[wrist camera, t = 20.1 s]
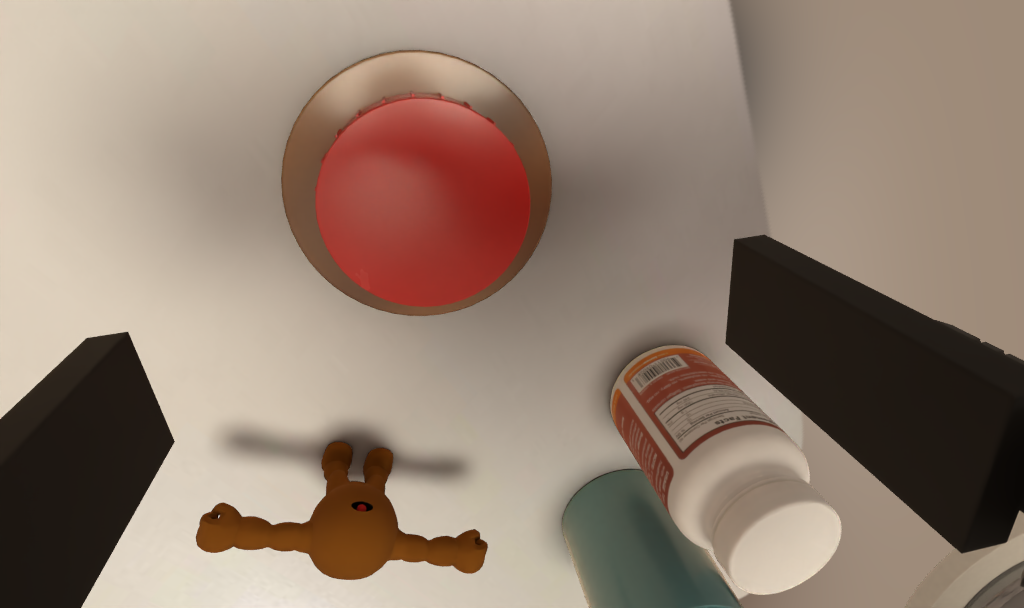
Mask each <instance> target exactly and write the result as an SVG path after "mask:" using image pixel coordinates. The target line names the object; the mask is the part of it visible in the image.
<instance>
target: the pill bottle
mask: <svg viewBox="0 0 1024 608" xmlns="http://www.w3.org/2000/svg"><path fill="white" fill-rule="evenodd" d="M610 409H611V415H612V418H613V421H614V423H615V425H616V427H617V429H618V431H619V433H620V434H621V436H622V438H623V439H624V441H625V442H626V444H627V446H628V447H629V449H630V451H631V452H632V454H633V455H634V457H635V459H636V460H637V462H638V464H639V465H640V467H641V469H642V470H643V472H644V473H645V475H646V477H647V478H648V480H649V482H650V483H651V485H652V487H653V488H654V490H655V492H656V493H657V495H658V497H659V498H660V500H661V501H662V503H663V505H664V507H665V508H666V510H667V511H668V513H669V515H670V516H671V518H672V519H673V521H674V522H675V524H676V525H677V527H678V528H679V530H680V531H681V532H682V534H683V535H684V536H685V537H686V538H688V539H689V540H690V541H691V542H693V543H694V544H696V545H698V546H700V547H702V548H704V549H707V550H710V551H714V554H715V557H716V559H717V561H718V562H719V563H720V565H721V566H722V567H723V569H724V570H725V571H726V573H727V574H728V576H729V577H730V579H731V580H732V582H733V583H734V584H735V585H736V586H737V587H738V588H740V589H742V590H743V591H746V592H748V593H751V594H759V595H767V594H774V593H779V592H782V591H785V590H788V589H791V588H793V587H795V586H797V585H799V584H801V583H803V582H804V581H806V580H807V579H809V578H810V577H812V576H813V575H814V574H816V573H817V572H818V571H819V570H820V569H821V568H822V567H823V566H824V565H825V564H826V563H827V562H828V561H829V559H830V558H831V557H832V556H833V554H834V552H835V550H836V549H837V547H838V544H839V542H840V537H841V529H842V527H841V521H840V518H839V516H838V514H837V513H836V511H835V510H834V509H833V508H832V507H831V506H830V505H829V503H828V502H827V501H826V500H825V499H824V498H823V497H822V496H821V495H820V494H819V493H818V492H817V491H816V490H815V489H814V488H813V487H812V486H811V485H810V473H809V467H808V463H807V460H806V458H805V456H804V454H803V452H802V451H801V449H800V448H799V447H798V445H797V444H796V443H795V442H794V441H793V440H792V439H791V438H790V437H789V436H788V435H787V434H786V433H785V432H784V431H783V430H782V429H781V428H780V427H779V426H778V425H777V424H776V423H775V422H773V421H772V420H771V419H770V418H769V417H768V416H767V415H766V414H765V413H764V412H763V411H762V410H761V409H760V408H759V407H758V406H757V405H756V404H755V403H754V402H753V401H752V400H751V399H750V398H749V397H748V396H747V395H746V394H745V393H744V392H743V391H742V390H740V389H739V388H738V387H737V386H736V385H735V384H734V383H733V382H732V381H731V380H730V379H729V378H728V377H727V376H726V375H725V374H724V373H723V372H722V371H721V370H720V369H719V368H718V367H717V366H716V365H715V364H714V363H713V362H712V361H711V360H709V359H708V358H707V357H706V356H705V355H703V354H702V353H701V352H699V351H697V350H695V349H693V348H690V347H686V346H680V345H668V346H662V347H658V348H655V349H652V350H649V351H647V352H645V353H643V354H641V355H640V356H638V357H637V358H635V359H634V360H633V361H631V362H630V363H629V364H628V365H627V366H626V367H625V368H624V370H623V371H622V372H621V374H620V375H619V377H618V378H617V380H616V382H615V384H614V387H613V390H612V393H611V400H610Z"/></svg>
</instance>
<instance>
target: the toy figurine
mask: <svg viewBox="0 0 1024 608" xmlns="http://www.w3.org/2000/svg"><path fill="white" fill-rule="evenodd" d="M352 454H353V452H352V447H350V446H349V445H348V444H346V443H343V442H334V443H331V444H329V445H328V447H327V448H326V450H325V453H324V455H323V458H322V461H321V464H322V469H323V471H324V477H325V479H326V480H327V486H326V496H325V497H324V498H323V499H322V500H321V501H320V502H319V504H318V505H317V506H316V508H315V510H314V512H313V514H312V516H311V519H310V521H308V522H305V523H302V524H300V523H293V522H284V523H279V524H276V525H271V524H270V523H269V522H268V521H266V520H264V519H261V518H258V517H251V516H248V517H242V516H241V515H240V513H239V512H238V511H237V510H236V509H235V508H234V507H232V506H230V505H228V504H226V503H219V504H218V505H216V506H215V507H214V508H213V510H212V511H211V512H209V513H206V514H204V515H203V516H202V518H201V519H200V524H199V525H200V526H199V528H198V531H197V535H196V542H197V545H198V547H200V548H201V549H202V550H204V551H206V552H211V553H218V552H222V551H225V550H228V549H230V548H232V547H233V546H234V547H236V548H238V549H244V550H257V549H263V548H266V547H269V548H272V549H274V550H278V551H293V550H296V551H298V552H303V553H307V554H309V556H310V557H311V559H312V561H313V563H314V565H315V566H316V567H317V568H318V569H319V570H320V571H321V572H322V573H323V574H325V575H327V576H329V577H332V578H337V579H344V580H356V579H362V578H366V577H368V576H370V575H372V574H373V573H375V572H376V571H378V570H379V569H380V568H381V567H382V566H383V565H384V564H385V563H386V562H387V561H389V560H401V559H402V560H403V561H407V562H421V561H426V562H428V563H430V564H433V565H437V566H452V565H453V566H454V567H455V568H456V569H458V570H459V571H461V572H463V573H475V572H477V571H478V570H480V568H481V567H482V566H483V563H484V560H485V554H486V551H487V548H488V545H487V543H486V542H485V541H483V540H481V539H480V533H479V532H478V531H477V530H475V529H473V530H469V531H466V532H464V533H462V534H461V535H459V536H458V537H456V538H453V537H449V536H441V537H436V538H433V539H432V540H427V539H426V538H424V537H422V536H419V535H413V534H405V533H403V532H402V531H400V530H399V528H398V522H397V517H396V514H395V511H394V508H393V506H392V504H391V502H390V500H389V499H388V498H387V496H386V495H385V483H386V481H387V479H388V476H389V474H390V473H391V469H392V463H393V453H392V452H391V451H390V450H388V449H385V448H376V449H373V450H371V451H370V452H369V453H368V456H367V458H366V460H365V463H364V466H363V474H364V479H365V483H364V482H358V481H351V482H350V481H349V480H348V477H347V476H348V470H349V468H350V465H351V461H352ZM218 515H220V517H219V518H218Z"/></svg>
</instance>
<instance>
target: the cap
mask: <svg viewBox="0 0 1024 608" xmlns="http://www.w3.org/2000/svg"><path fill="white" fill-rule="evenodd" d="M495 125H496V123H495V122H494V121H492V120H491V119H490V118H488V117H487V118H485V117H484V116H483V115H481V114H480V113H479V112H478V111H476V110H474V109H473V108H472V106H471V105H470V104H468V103H467V102H464V103H462V102H460V101H457V100H455V99H453V98H449V97H446V96H443V95H442V94H441V93H439V92H438V94H430V93H414V92H413V91H410V93H407V94H400V95H395V96H392V97H388V98H385V96H384V97H382V100H380V101H378V102H376V103H373V104H371V105H370V106H368V107H367V108H365V109H363V110H362V111H361V110H360V109H359V110H358V111H357V113H356V115H355V116H354V117H353V118H352V119H351V120H350V121H349V122H348V123H347V124H346V125H345V126H344V128H343V129H342V130H341V129H339V130H338V132H337V133H336V135H335V138H336V139H335V140H334V142H333V144H332V145H331V147H330V149H329V151H328V152H327V153H325V155H324V157H323V158H322V160H321V163H322V166H321V169H320V172H319V176H318V179H317V185H316V187H315V191H316V193H315V208H316V218H317V222H318V226H319V230H320V233H321V236H322V238H323V241H324V243H325V245H326V248H327V249H328V251H329V253H330V254H331V256H332V258H333V260H334V261H335V262H336V263H337V265H338V266H339V267H340V268H341V270H342V271H343V272H344V273H345V274H346V275H347V276H348V277H349V278H350V279H351V280H352V281H354V282H355V283H356V284H358V285H359V286H360V287H362V288H363V289H365V290H367V291H368V292H370V293H372V294H373V295H375V296H378V297H380V298H382V299H385V300H387V301H391V302H394V303H397V304H402V305H408V306H417V307H431V306H441V305H446V304H451V303H455V302H458V301H461V300H464V299H466V298H468V297H471V296H473V295H475V294H477V293H478V292H480V291H482V290H483V289H485V288H486V287H488V286H489V285H490V284H492V283H493V282H494V281H495V280H496V279H498V278H499V277H500V276H501V275H502V274H503V273H504V272H505V270H506V269H507V268H508V267H509V265H510V264H511V263H512V261H513V260H514V258H515V256H516V255H517V253H518V251H519V250H520V247H521V245H522V243H523V241H524V238H525V235H526V232H527V228H528V224H529V217H530V203H531V199H530V189H529V183H528V179H527V175H526V172H525V168H524V166H523V164H522V161H521V159H520V157H519V155H518V154H517V152H516V150H515V148H514V144H513V143H512V142H510V141H509V140H508V139H507V137H506V136H505V135H504V134H503V133H502V132H501V131H500V130H499V129H498V128H497V127H496V126H495Z"/></svg>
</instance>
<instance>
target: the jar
mask: <svg viewBox="0 0 1024 608" xmlns="http://www.w3.org/2000/svg"><path fill="white" fill-rule="evenodd" d="M562 531H563V536H564V539H565V541H566V544H567V547H568V550H569V553H570V556H571V558H572V561H573V564H574V567H575V570H576V573H577V575H578V578H579V581H580V584H581V587H582V590H583V592H584V595H585V598H586V601H587V604H588V607H589V608H743V607H742V605H741V603H740V601H739V600H738V598H737V597H736V595H735V593H734V592H733V590H732V589H731V587H730V585H729V584H728V582H727V581H726V579H725V577H724V576H723V574H722V573H721V571H720V569H719V568H718V566H717V565H716V563H715V561H714V560H713V558H712V557H711V555H710V553H709V552H708V550H707V549H704V548H702V547H700V546H698V545H696V544H694V543H693V542H691V541H690V540H689V539H688V538H686V537H685V536H684V535H683V534H682V532H681V531H680V530H679V528H678V527H677V525H676V524H675V522H674V521H673V519H672V518H671V516H670V515H669V513H668V511H667V510H666V508H665V507H664V505H663V503H662V501H661V500H660V498H659V497H658V495H657V493H656V492H655V490H654V488H653V487H652V485H651V483H650V482H649V480H648V478H647V477H646V475H645V473H644V472H643V471H641V470H621V471H615V472H612V473H608V474H606V475H603V476H601V477H599V478H597V479H595V480H593V481H592V482H590V483H588V484H587V485H586V486H584V487H583V488H582V489H581V490H580V491H579V492H578V493H577V494H576V495H575V496H574V497H573V498H572V500H571V501H570V503H569V504H568V506H567V508H566V510H565V512H564V516H563V520H562Z"/></svg>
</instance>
